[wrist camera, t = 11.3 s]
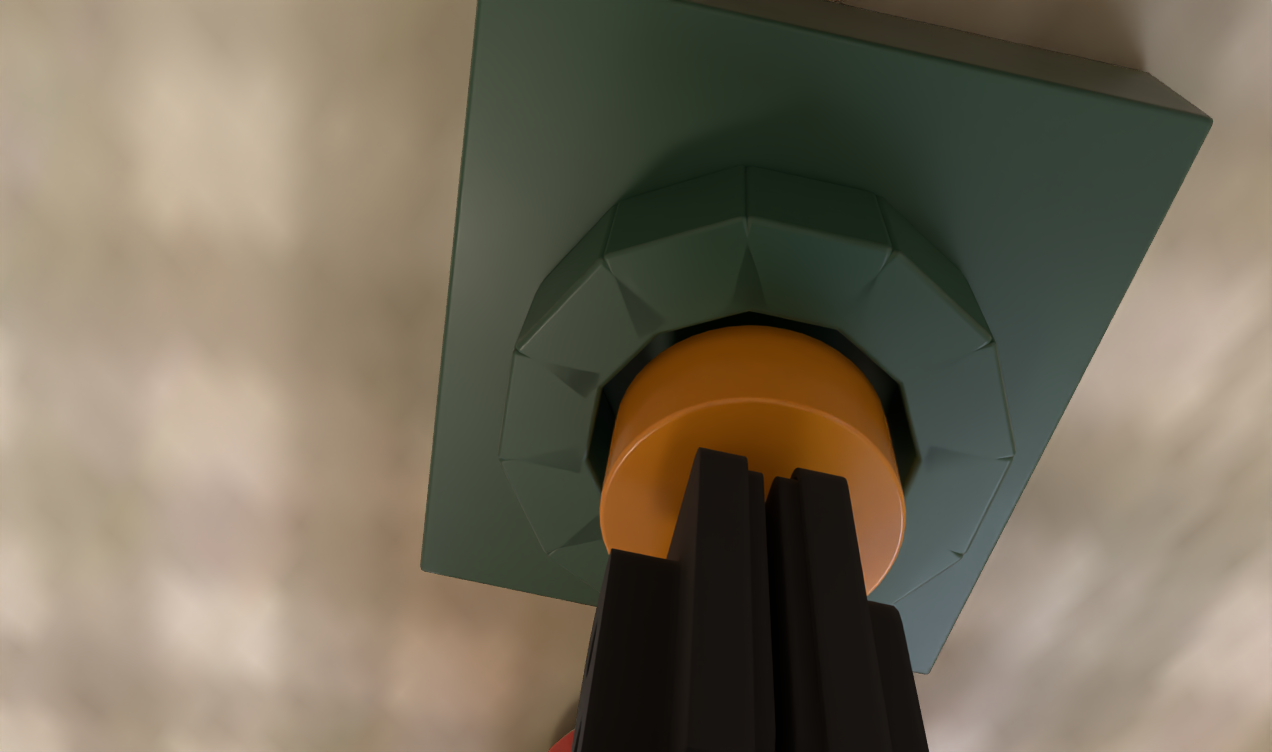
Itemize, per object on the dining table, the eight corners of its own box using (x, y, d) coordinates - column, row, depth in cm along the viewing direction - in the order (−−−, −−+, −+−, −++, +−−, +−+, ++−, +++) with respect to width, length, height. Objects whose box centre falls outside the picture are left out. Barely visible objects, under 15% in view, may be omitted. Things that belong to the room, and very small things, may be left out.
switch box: (516, -70, 13) (440, -18, 10) (1152, 71, 14) (1290, 169, 10) (450, 492, 19) (386, 652, 15) (910, 588, 19) (948, 766, 15)
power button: (642, 296, 12) (629, 368, 11) (926, 356, 12) (953, 437, 11) (593, 516, 14) (576, 605, 12) (839, 568, 14) (852, 661, 13)
